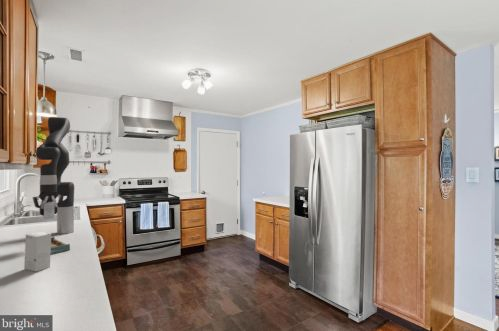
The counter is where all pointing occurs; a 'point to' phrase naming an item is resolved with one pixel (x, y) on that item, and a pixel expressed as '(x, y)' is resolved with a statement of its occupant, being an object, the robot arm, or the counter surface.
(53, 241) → the wooden tray
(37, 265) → the skincare box
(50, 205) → the medicine box
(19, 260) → the counter surface
